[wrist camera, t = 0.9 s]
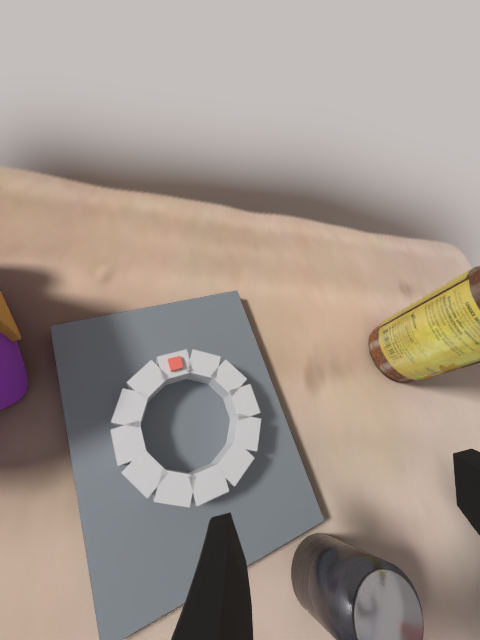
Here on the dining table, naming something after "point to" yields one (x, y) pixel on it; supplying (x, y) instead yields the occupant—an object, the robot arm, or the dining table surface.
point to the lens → (354, 592)
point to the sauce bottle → (431, 333)
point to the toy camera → (10, 360)
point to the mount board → (173, 450)
